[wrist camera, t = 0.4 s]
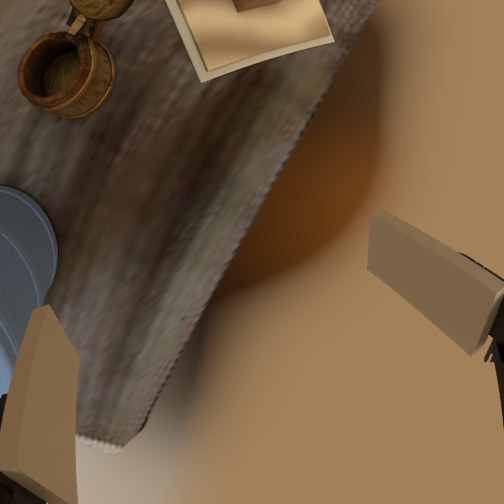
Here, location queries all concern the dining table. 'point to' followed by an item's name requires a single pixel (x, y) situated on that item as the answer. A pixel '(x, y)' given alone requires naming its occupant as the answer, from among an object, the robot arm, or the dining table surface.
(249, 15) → the lid
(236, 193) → the dining table surface
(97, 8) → the wooden mug
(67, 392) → the robot arm
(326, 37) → the mat
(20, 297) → the water jug
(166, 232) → the dining table surface
